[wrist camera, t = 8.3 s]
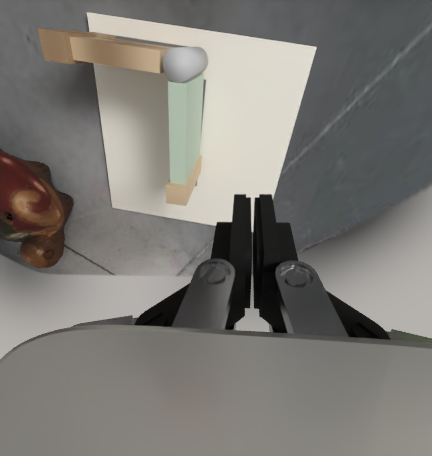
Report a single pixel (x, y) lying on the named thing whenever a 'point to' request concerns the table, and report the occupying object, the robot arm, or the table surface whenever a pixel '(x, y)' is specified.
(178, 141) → the fence gate
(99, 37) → the bar
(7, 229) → the decorative turtle
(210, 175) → the card
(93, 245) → the table surface
